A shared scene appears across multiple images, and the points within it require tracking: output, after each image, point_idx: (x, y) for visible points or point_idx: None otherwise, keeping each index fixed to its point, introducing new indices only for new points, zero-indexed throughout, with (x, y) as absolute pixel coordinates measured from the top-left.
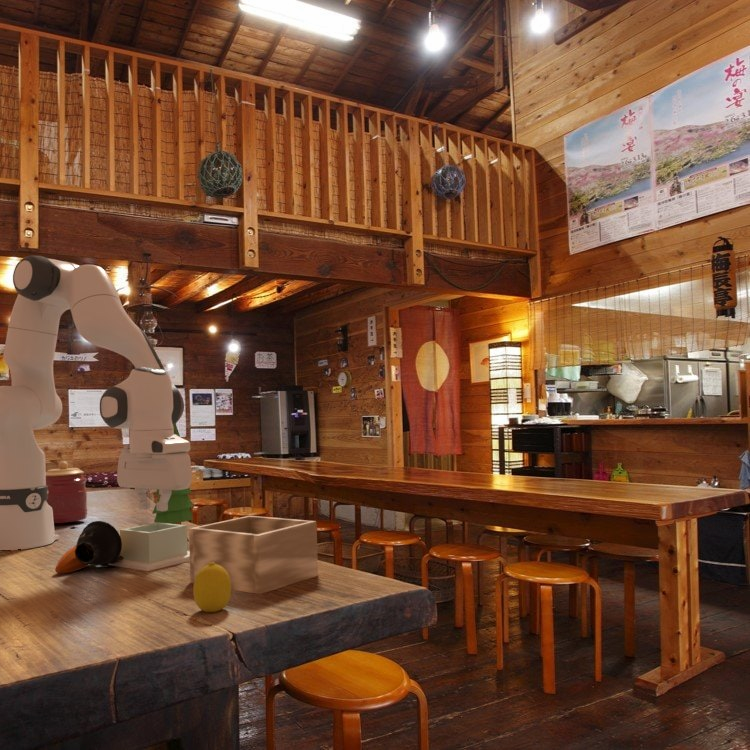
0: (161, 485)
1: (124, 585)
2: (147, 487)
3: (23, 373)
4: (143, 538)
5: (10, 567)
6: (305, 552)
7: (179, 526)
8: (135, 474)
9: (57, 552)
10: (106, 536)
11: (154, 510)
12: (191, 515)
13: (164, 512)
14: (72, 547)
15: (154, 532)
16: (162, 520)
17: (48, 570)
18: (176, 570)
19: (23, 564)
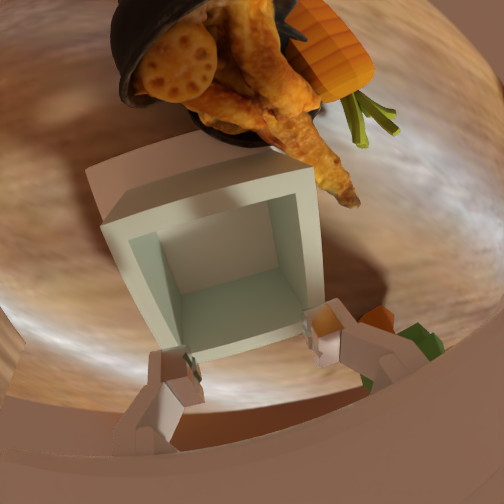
0: (81, 477)
1: (16, 89)
2: (253, 443)
3: None
4: (140, 205)
5: (434, 11)
6: None
7: None
8: (459, 456)
9: (477, 134)
10: (113, 32)
11: (432, 342)
12: (369, 390)
13: None
14: (338, 16)
15: (111, 252)
16: None
17: (355, 11)
18: (65, 235)
19: (442, 36)
